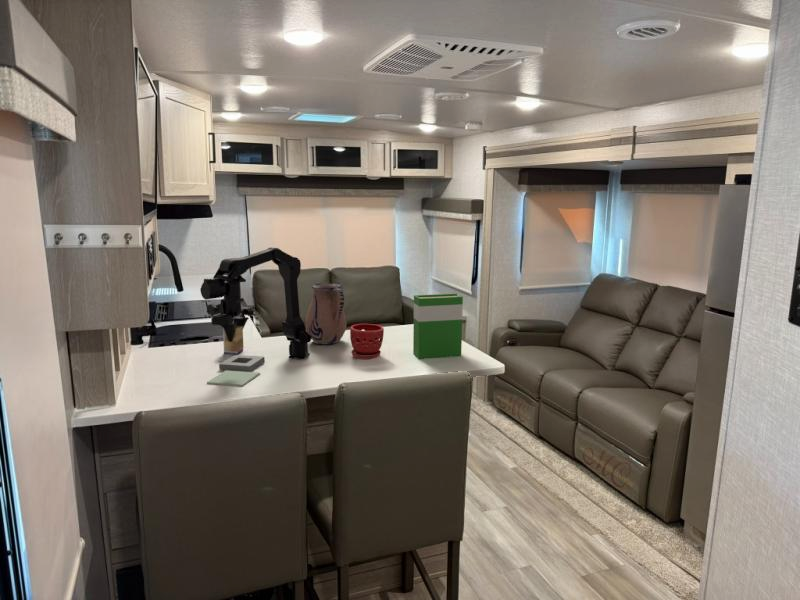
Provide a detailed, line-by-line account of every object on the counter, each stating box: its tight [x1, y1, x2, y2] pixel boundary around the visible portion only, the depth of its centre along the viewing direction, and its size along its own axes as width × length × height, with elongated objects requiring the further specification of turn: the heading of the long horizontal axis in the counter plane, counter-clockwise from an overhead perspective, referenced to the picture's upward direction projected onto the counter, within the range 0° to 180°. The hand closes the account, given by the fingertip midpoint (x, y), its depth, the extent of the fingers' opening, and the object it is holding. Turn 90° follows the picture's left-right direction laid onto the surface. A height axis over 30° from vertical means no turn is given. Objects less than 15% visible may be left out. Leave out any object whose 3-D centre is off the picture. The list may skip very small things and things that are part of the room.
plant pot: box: [349, 323, 385, 360], centre depth 214 cm, size 13×13×12 cm
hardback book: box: [412, 293, 464, 360], centre depth 215 cm, size 18×7×24 cm, turn 104°
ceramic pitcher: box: [305, 283, 347, 345], centre depth 232 cm, size 18×21×25 cm
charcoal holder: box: [218, 354, 266, 372], centre depth 202 cm, size 12×12×2 cm
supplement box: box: [222, 327, 244, 355], centre depth 219 cm, size 6×6×12 cm
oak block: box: [224, 326, 244, 352], centre depth 190 cm, size 4×4×8 cm
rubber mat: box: [206, 370, 261, 387], centre depth 188 cm, size 13×13×1 cm
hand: (234, 339), depth 190 cm, fingers closed on oak block, 4 cm apart
